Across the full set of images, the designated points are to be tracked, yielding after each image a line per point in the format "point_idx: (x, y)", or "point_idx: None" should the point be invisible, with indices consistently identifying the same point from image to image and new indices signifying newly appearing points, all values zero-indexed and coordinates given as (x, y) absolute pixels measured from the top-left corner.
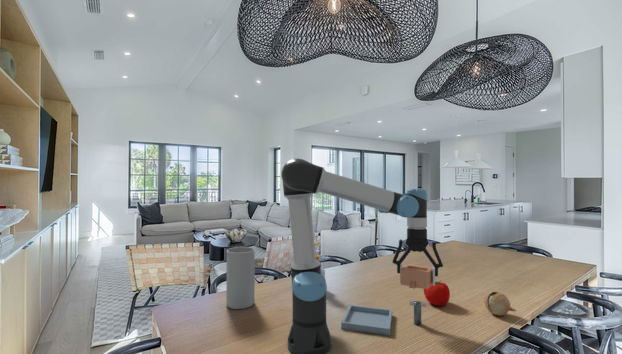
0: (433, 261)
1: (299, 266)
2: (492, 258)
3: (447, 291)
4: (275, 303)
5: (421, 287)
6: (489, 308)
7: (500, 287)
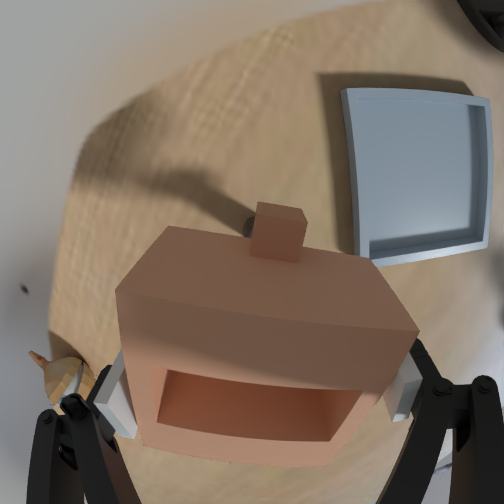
0: (82, 455)
1: None
2: None
3: None
4: None
5: (207, 234)
6: (83, 370)
7: (125, 464)
